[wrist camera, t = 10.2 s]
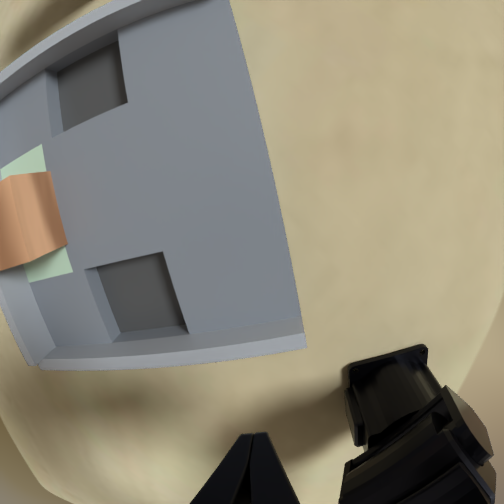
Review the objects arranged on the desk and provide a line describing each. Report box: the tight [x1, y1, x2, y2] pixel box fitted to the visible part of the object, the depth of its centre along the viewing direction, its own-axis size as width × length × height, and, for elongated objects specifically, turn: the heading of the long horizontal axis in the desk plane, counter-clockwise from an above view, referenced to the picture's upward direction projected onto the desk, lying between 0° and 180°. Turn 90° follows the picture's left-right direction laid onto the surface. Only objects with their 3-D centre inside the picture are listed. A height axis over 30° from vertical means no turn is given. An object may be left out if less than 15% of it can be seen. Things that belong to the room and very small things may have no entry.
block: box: [0, 171, 68, 271], centre depth 15 cm, size 5×5×4 cm
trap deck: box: [0, 0, 307, 371], centre depth 16 cm, size 20×22×5 cm
